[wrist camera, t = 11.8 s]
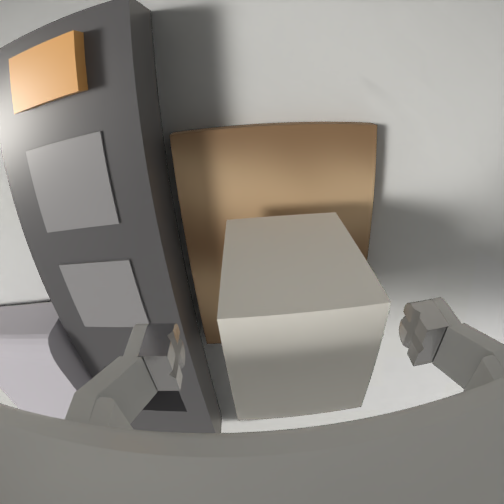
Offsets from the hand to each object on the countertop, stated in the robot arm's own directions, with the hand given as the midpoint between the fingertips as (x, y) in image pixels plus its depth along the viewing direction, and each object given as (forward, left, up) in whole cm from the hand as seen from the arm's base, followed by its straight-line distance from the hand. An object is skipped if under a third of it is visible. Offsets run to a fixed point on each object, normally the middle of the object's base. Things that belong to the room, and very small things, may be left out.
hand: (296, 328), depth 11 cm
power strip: (+2, -8, -6) cm, 11 cm away
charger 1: (+8, -20, -7) cm, 22 cm away
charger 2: (0, 0, -5) cm, 5 cm away
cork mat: (0, 0, -6) cm, 6 cm away
